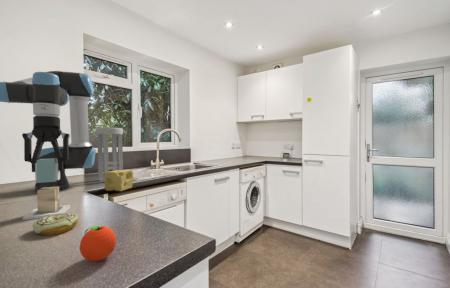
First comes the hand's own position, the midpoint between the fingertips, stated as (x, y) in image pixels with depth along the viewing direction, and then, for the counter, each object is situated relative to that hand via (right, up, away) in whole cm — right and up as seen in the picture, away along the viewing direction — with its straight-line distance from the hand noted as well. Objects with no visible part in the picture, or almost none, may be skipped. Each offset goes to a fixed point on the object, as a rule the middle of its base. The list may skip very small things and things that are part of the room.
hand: (48, 180), depth 79 cm
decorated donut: (+15, -12, -15) cm, 24 cm away
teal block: (0, 0, 0) cm, 0 cm away
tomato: (+36, -12, -31) cm, 49 cm away
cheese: (+6, -12, +40) cm, 42 cm away
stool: (-12, -11, +66) cm, 69 cm away
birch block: (0, -11, 0) cm, 11 cm away
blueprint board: (0, -12, 0) cm, 12 cm away
